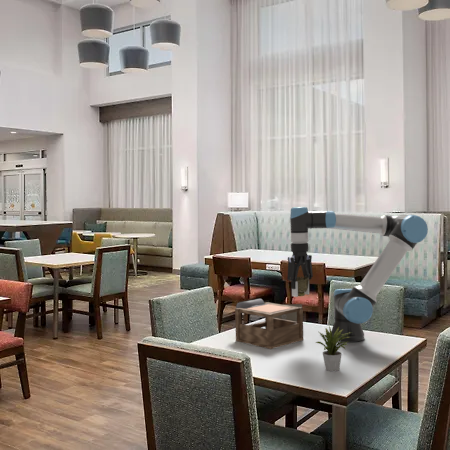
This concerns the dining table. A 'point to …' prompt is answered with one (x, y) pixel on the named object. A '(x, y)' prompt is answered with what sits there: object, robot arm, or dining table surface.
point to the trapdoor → (260, 306)
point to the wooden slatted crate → (270, 328)
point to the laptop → (290, 314)
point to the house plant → (332, 349)
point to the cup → (302, 285)
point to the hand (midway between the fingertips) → (300, 295)
